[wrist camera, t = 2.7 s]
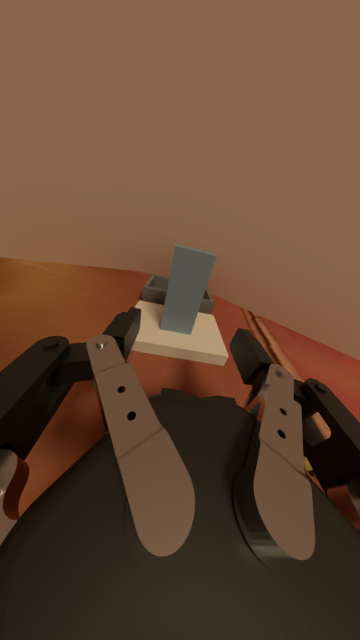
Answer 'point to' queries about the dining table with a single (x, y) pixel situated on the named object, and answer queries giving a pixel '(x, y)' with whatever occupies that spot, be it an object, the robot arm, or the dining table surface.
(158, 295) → the tray
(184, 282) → the tile block
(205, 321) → the bench board
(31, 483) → the dining table surface
